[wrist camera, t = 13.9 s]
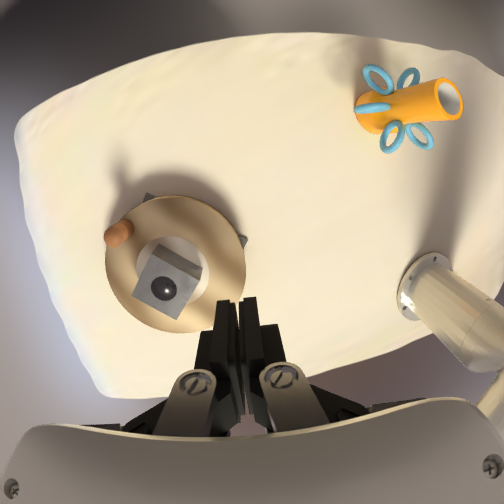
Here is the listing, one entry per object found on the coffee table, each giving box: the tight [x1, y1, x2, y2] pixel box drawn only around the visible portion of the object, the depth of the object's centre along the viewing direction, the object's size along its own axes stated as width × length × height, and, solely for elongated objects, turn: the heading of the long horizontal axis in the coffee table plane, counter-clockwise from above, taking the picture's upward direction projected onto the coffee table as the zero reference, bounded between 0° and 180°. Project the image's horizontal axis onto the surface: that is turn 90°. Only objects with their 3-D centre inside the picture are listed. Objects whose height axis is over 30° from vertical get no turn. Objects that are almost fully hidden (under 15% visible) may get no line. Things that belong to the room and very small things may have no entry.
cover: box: [131, 244, 203, 320], centre depth 30 cm, size 6×6×4 cm
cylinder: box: [353, 64, 463, 153], centre depth 23 cm, size 12×10×15 cm
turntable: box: [104, 195, 246, 333], centre depth 31 cm, size 18×18×6 cm
